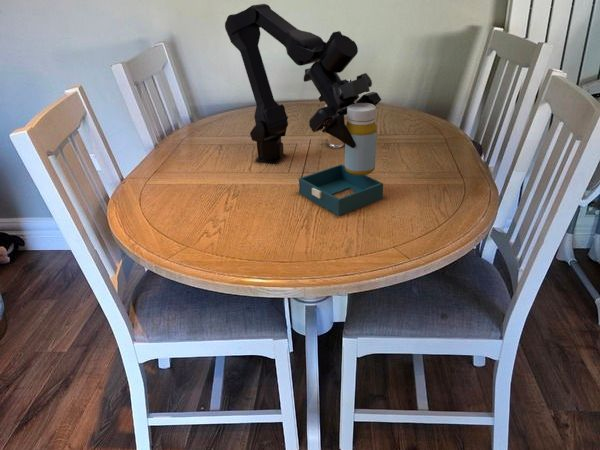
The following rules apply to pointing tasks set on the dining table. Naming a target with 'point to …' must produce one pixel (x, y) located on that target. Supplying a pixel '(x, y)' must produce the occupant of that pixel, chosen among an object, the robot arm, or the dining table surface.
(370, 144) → the bottle
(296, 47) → the robot arm
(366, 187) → the teal square tray
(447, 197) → the dining table surface
